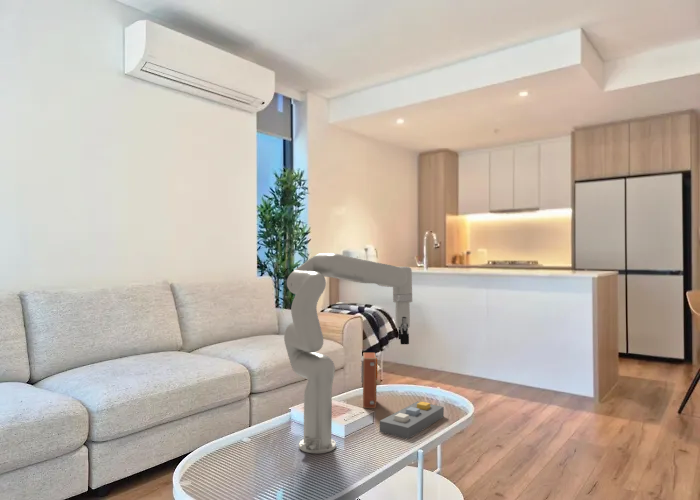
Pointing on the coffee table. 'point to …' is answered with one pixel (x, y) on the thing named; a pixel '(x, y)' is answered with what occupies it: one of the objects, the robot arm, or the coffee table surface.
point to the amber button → (423, 405)
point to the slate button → (413, 411)
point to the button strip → (411, 421)
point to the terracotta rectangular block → (369, 379)
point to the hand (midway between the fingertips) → (403, 341)
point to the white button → (401, 417)
